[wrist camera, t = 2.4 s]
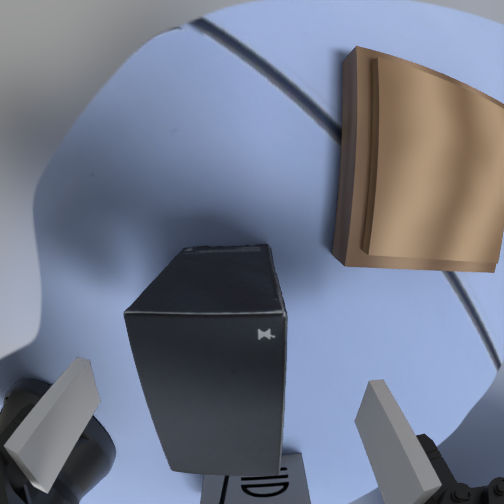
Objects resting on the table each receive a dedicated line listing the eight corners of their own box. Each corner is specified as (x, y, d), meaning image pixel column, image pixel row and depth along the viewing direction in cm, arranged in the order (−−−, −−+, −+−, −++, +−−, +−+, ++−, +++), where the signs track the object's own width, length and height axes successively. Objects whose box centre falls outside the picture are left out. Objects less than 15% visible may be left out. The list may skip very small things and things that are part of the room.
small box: (176, 245, 20) (112, 306, 10) (271, 242, 20) (295, 304, 10) (192, 373, 22) (166, 475, 12) (272, 372, 22) (285, 477, 12)
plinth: (331, 254, 20) (350, 271, 16) (342, 62, 17) (361, 39, 13) (473, 263, 21) (501, 276, 17) (482, 108, 17) (512, 102, 13)
